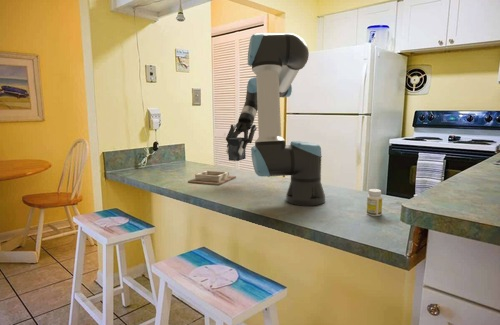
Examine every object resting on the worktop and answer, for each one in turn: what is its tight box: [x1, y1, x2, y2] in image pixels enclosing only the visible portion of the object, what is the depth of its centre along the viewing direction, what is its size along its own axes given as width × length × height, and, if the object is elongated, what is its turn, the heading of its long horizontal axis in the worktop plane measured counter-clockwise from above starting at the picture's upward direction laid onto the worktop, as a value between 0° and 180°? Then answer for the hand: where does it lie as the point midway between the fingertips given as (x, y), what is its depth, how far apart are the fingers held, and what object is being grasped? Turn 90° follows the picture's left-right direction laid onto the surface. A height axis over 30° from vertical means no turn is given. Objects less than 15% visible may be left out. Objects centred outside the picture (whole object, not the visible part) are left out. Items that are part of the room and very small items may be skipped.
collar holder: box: [187, 170, 237, 186], centre depth 171 cm, size 18×18×4 cm
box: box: [227, 136, 247, 162], centre depth 159 cm, size 8×6×11 cm
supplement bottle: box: [366, 188, 383, 217], centre depth 113 cm, size 5×5×8 cm
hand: (233, 153), depth 156 cm, fingers closed on box, 6 cm apart
